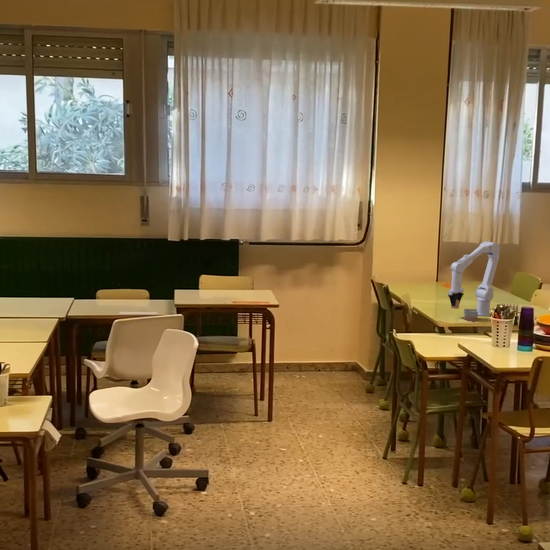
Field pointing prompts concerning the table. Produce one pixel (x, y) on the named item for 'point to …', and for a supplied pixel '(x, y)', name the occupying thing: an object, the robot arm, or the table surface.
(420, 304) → the table surface
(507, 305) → the ammunition clip
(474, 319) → the tower base
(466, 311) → the tower top
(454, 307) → the pink cylinder
